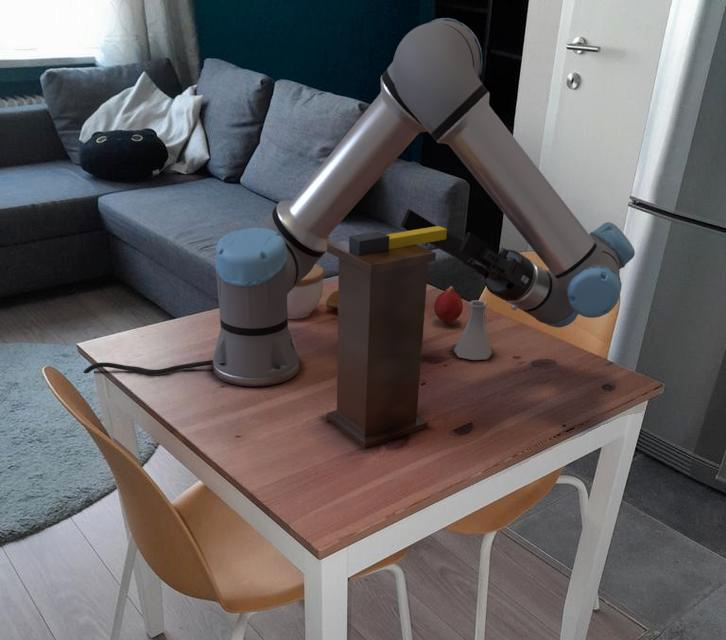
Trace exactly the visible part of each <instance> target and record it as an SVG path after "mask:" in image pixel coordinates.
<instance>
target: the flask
mask: <svg viewBox="0 0 726 640" xmlns="http://www.w3.org/2000/svg"><path fill="white" fill-rule="evenodd" d="M469 306H470V311H469V316H468V319H467V322H466V324H465V326H464V329H463V331H462V333H461V336H460V337H459V340H458V341H457V343H456V345H455V347H454V350H453V352H454V353H455V355H456V356H457V357H458V358H462V359H465V360H470V361H479V360H481V361H482V360H488V359H489V358H490V357H491V356H492V354H493V351H492V347H491V343H490V340H489V336H488V331H487V326H486V317H485V316H486V315H485V311H486V308H487V307H488V303H487V302H486V301H485V300H480V299H479V300H477V299H476V300H475V299H474V300H471V301H470V302H469Z"/></svg>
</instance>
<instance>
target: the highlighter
mask: <svg viewBox="0 0 726 640" xmlns="http://www.w3.org/2000/svg"><path fill="white" fill-rule="evenodd" d="M447 231H448V229H447V228H444V227H443V226H440V225H436V226H435V227H429V228H423V229H417V230H411V231H408V230H405V231H400V232H399V231H398V232H394V233H391V234H387V233H384V232H381V231H373V232H367V233H361V234H356V235H350V236H349V237H348V238H349V239H348V240H349V251H351V252H353V253H355V254H357V255H359V256H360V255H366V254H371V253H377V252H382V251H388V250H389V249H395V248H400V247H406V246H412V245H423V243H428V242H434V241H439V240H445V239H446V234H447ZM385 234H387V235H385ZM428 244H429V243H428Z"/></svg>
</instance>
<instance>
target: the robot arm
mask: <svg viewBox="0 0 726 640" xmlns="http://www.w3.org/2000/svg"><path fill="white" fill-rule="evenodd" d="M482 70H483V53H482V47H481V44H480V42H479V39H478V38H477V36H476V34H475V33H474V32H473V31H472V30H471V28H470V27H468V26H467V25H465V24H464V23H463V22H460V21H458V20H457V19H454V18H449V17H442V18H435V19H433V20H431V21H429V22H426V23H424V24H421V25H418V26H416V27H414V28H413V29H411V30H410V31H409V32H408V33H406V34H405V35H404V36H403V38H402V39H401V41H400V42H399V44H398V46H397V48H396V50H395V52H394V56H393V60H392V62H391V63H390V65H389V66H388V67H387V68H386V69H385V71H384V72H383V73H382V74H381V76H380V93H379V94H378V95H377V96H376V97H375V99H374V100H373V101H372V102H371V104H370V105H369V106H368V108H367V109H366V110H365V111H364V113H363V114H362V115H361V116H360V117H359V119H357V121H356V122H355V123H354V124H353V126H352V127H351V128H350V129H349V130H348V132H347V133H346V135H345V136H344V137H343V138H342V139H341V141H340V142H339V143H338V144H337V145H336V146H335V148H334V149H333V150H332V152H331V153H330V154H329V155H328V156H327V158H325V160H324V161H323V163H322V164H320V166H319V167H318V169H317V170H315V172H314V173H313V175H312V176H311V177H310V178H309V180H307V182H306V183H305V184H304V186H303V187H302V188H301V189H300V190H299V192H298V193H297V194H296V195H295V196H294V198H293V199H292V200H281V201H279V202H278V204H276V206H275V207H274V208H273V210H272V211H271V212H269V214H268V215H267V216H266V217H265V219H264V221H262V223H261V224H260V225H259V227H246V228H241V229H239V230H233V231H230V232H228V233H227V234H225V235H223V236H222V237H221V238H220V239H219V240H218V242H217V244H216V247H215V261H214V269H215V272H216V273H215V274H216V285H217V298H218V310H219V322H220V330H219V334H218V338H217V342H216V346H215V350H214V353H213V357H212V359H211V360H203V361H195V362H189V363H184V364H177V365H172V366H169V367H164V368H159V369H158V368H157V369H151V368H144V367H140V366H134V365H126V364H125V365H124V364H120V363H113V362H104V361H102V362H96V363H93V364H91V365H89V366H88V367H86V368H85V369H84V371H82V373H83V374H89V373H91V372H92V371H94V370H96V369H99V368H109V369H110V368H112V369H117V370H122V371H129V372H138V373H141V374H146V375H162V374H167V373H172V372H176V371H181V370H186V369H191V368H200V367H206V366H212V369H213V373H214V375H215V376H216V377H217V378H219V380H221V381H224V382H225V383H228V384H231V385H236V386H240V387H251V388H252V387H253V388H254V387H255V388H257V387H268V386H274V385H278V384H280V383H284V382H287V381H288V380H290V379H292V378H293V377H295V376H296V375H297V374H298V373H299V369H300V358H299V353H298V351H297V348H296V342H295V340H294V337H293V336H292V335H291V332H290V329H289V321H288V311H287V294H288V293H289V292H290V291H291V290H292V288H293V287H294V286H295V285H296V284H297V283H298V282H299V281H300V280H301V279H302V278H304V277H305V276H306V275H307V274H308V273H309V272H310V271H311V270H312V268H313V267H314V265H315V264H317V263H318V261H319V260H321V258H322V257H323V256H324V254H326V252H327V244H328V243H331V242H330V235H331V233H332V232H333V231H334V230H335V229H336V228H337V227H338V226H339V225H340V223H342V221H343V220H344V219H345V217H346V216H347V215H348V214H349V213H350V212H351V211H352V209H353V208H355V207H356V205H357V204H358V203H359V202H360V201H361V199H363V197H364V196H365V195H366V194H367V193H368V191H369V190H370V189H371V188H372V187H373V186H374V185H375V184H376V183H377V181H378V180H379V179H380V178H381V177H382V176H383V174H384V173H385V172H386V171H387V170H388V169H389V168H390V166H392V164H393V163H394V162H395V161H396V160H397V159H398V158H399V157H400V155H402V153H403V152H404V151H405V149H407V147H408V146H409V145H410V144H411V143H412V142H413V141H414V139H415V138H416V137H417V136H418V135H419V134H420V133H426V132H427V133H429V135H430V136H431V138H432V139H434V141H435V142H436V143H437V144H445V145H448V146H449V147H450V149H451V150H452V151H453V152H454V154H455V155H456V156H457V157H458V158H459V160H460V161H461V162H462V164H463V165H464V166H465V167H466V168H467V170H468V171H469V172H470V173H471V175H472V176H473V177H474V178H475V179H476V181H477V182H478V183H479V185H480V186H481V187H482V188H483V190H484V191H485V192H486V193H487V194H488V196H489V197H490V198H491V200H492V201H493V202H494V203H495V204H496V206H497V207H498V208H499V209H500V211H501V212H502V213H503V214H504V215H505V217H506V218H507V219H508V220H509V222H510V223H511V224H512V225H513V227H515V229H516V230H517V231H518V233H519V234H520V235H521V236H522V238H523V239H524V241H526V242H527V244H528V246H530V247H531V249H532V250H533V252H534V253H535V254H536V255H537V256H538V257H539V259H540V260H541V261H542V262H543V264H544V265H545V266H546V267H547V269H548V270H546V269H545V268H544V267H542V266H541V265H539V264H538V263H536V262H534V261H533V260H531V259H529V258H528V257H526V256H525V255H524V254H521V252H519V251H517V250H515V249H506V248H505V247H501V248H500V250H498V249H496V247H493V246H492V245H490V244H489V243H487V242H485V241H484V240H482V239H481V238H480V237H478V236H476V235H475V234H473V233H472V232H469V231H467V232H466V234H465V236H464V238H463V239H462V240H461V239H459V238H458V237H455V236H453V235H452V234H449V233H447V234H446V239H445V240H439V241H434V242H428V243H423V244H422V246H425V247H428V244H430V245H431V246H433V247H435V248H437V249H439V250H440V251H442V252H444V253H446V254H448V255H450V256H452V257H454V258H456V259H457V260H459V261H461V262H462V263H463V265H464V266H467V267H469V268H471V269H473V270H474V271H475V272H476V273H477V274H479V275H481V276H483V277H484V284H485V287H486V289H487V291H488V292H489V293H490V294H492V295H494V296H495V297H497V298H499V299H501V300H502V301H505V302H507V303H508V304H510V305H511V306H510V308H511V310H513V311H517V309H519V310H520V311H523V313H526V314H528V316H531V317H532V318H534V319H535V320H536V321H538V322H539V323H542V324H545V325H547V326H549V327H553V328H564V327H567V326H569V325H571V324H572V323H573V322H574V321H575V320H576V319H577V317H578V315H580V316H582V317H584V318H589V319H590V318H591V319H595V318H601V317H603V316H605V315H607V314H610V312H611V311H612V310H613V309H614V308H615V307H616V305H617V304H618V302H619V299H620V295H621V292H622V281H621V276H620V274H621V273H620V270H621V269H624V268H625V267H626V265H627V264H628V263H629V262H631V260H632V259H633V258H634V257H635V256H636V255H635V254H636V252H635V248H634V246H633V245H632V243H631V241H630V240H629V239H628V237H627V236H626V235H625V233H624V232H623V231H622V230H621V229H620V228H619V226H617V225H616V224H615V223H613V222H610V221H608V222H604V223H603V224H601V225H600V226H599V227H597V228H596V229H595V230H593V231H591V232H590V233H588V231H587V230H586V229H585V227H584V226H583V225H582V223H581V222H580V221H579V219H578V218H577V217H576V215H575V213H573V212H572V210H571V209H570V208H569V206H568V205H567V204H566V203H565V201H564V200H563V199H562V198H561V196H560V194H559V193H558V192H557V191H556V190H555V188H554V187H553V186H552V185H551V183H550V182H549V181H548V180H547V178H546V177H545V175H544V174H543V173H542V172H541V170H540V169H539V168H538V166H537V165H536V164H535V163H534V161H533V160H532V159H531V157H530V156H529V155H528V153H527V152H526V151H525V150H524V149H523V147H522V146H521V145H520V143H519V142H518V141H517V139H516V138H515V137H514V135H513V134H512V133H511V132H510V130H508V128H507V126H506V125H505V124H504V123H503V121H502V120H501V119H500V117H499V116H498V115H497V113H495V111H494V110H493V108H492V107H491V106H490V92H489V90H488V88H487V87H485V85H484V84H483V82H482V81H481V79H480V76H481V74H482ZM435 226H437V225H436V224H434V223H432V222H431V221H429V220H428V219H426V218H424V217H423V216H421V215H420V214H418V213H416V211H413V210H411V209H409V208H408V209H407V211H406V212H405V215H404V217H403V218H402V221H401V223H400V227H401V228H403V229H405V231H411V230H417V229H423V228H429V227H435Z"/></svg>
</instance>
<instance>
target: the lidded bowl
mask: <svg viewBox="0 0 726 640" xmlns="http://www.w3.org/2000/svg"><path fill="white" fill-rule="evenodd" d="M324 276H325V270H324V268H323V267H322V266H321V265H319V264H317V263H315V265H314V267H313V268H312V270H311V271H310V272H309V273H308V274H307V275H306V276H305V277H304V278H302V279H301V280H300V281H299V282H298V283H297V284H296V285H295V286H294V287H293V288H292V290H291V291H290V292H289V293H288V294H287V311H288V319H289V320H298V319H299V320H300V319H304V318H307V317H309V316H310V315H311V314H312V312H313V311H314V310H315V309H316V308H317V307H318V305H319V304H320V301H321V299H322V296H323V290H324V289H323V288H324V278H325V277H324Z"/></svg>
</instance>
